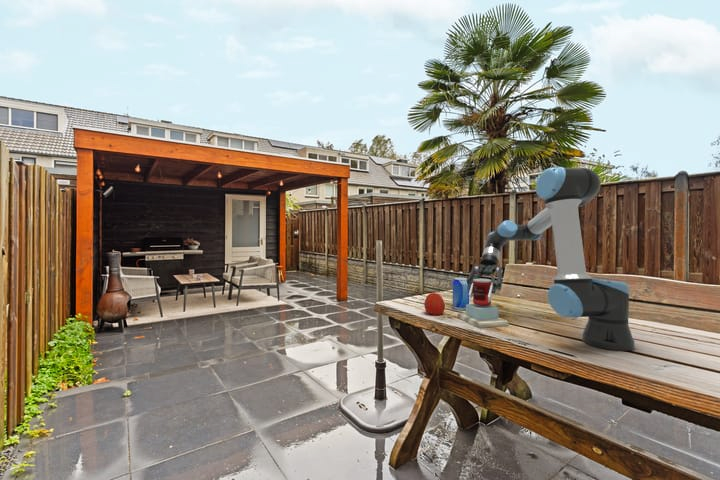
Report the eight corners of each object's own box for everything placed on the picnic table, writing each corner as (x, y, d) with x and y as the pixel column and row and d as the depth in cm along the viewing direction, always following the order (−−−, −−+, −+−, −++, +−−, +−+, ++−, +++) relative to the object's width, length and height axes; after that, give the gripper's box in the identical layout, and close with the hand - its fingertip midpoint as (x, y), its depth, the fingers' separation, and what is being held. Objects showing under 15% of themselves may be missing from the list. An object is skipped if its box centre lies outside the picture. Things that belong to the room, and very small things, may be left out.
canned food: (488, 302, 156) (488, 278, 155) (493, 306, 148) (493, 281, 147) (471, 302, 156) (471, 278, 156) (475, 305, 148) (475, 281, 148)
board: (508, 325, 145) (508, 321, 145) (479, 328, 142) (479, 323, 142) (483, 315, 162) (483, 311, 162) (457, 317, 159) (457, 313, 159)
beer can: (449, 307, 180) (449, 277, 180) (462, 306, 183) (463, 277, 182) (458, 311, 172) (458, 280, 172) (472, 309, 175) (472, 279, 174)
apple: (421, 311, 172) (421, 291, 172) (441, 311, 173) (441, 290, 172) (426, 316, 162) (426, 294, 162) (447, 316, 162) (447, 294, 162)
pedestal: (498, 319, 148) (498, 307, 148) (478, 320, 146) (478, 309, 146) (485, 313, 158) (485, 303, 158) (465, 315, 156) (465, 304, 156)
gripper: (514, 264, 158) (505, 305, 145) (470, 262, 170) (459, 299, 157) (511, 254, 153) (502, 294, 141) (467, 252, 166) (454, 290, 153)
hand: (479, 297), depth 149 cm, fingers closed on canned food, 8 cm apart
